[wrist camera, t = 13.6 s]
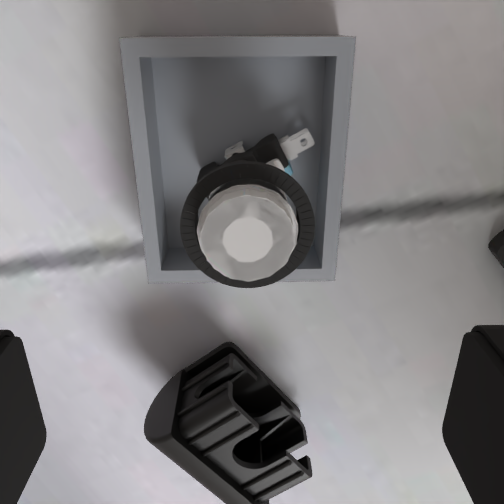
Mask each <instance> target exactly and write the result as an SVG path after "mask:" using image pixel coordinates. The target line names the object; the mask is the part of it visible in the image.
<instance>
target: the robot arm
mask: <svg viewBox="0 0 504 504" xmlns="http://www.w3.org/2000/svg"><path fill="white" fill-rule="evenodd" d="M442 433H443V439H444V442H445V445H446V447H447V449H448V451H449V453H450V455H451V457H452V459H453V461H454V463H455V465H456V467H457V470H458V472H459V474H460V476H461V478H462V480H463V482H464V484H465V486H466V488H467V490H468V492H469V494H470V497H471V499H472V501H473V503H474V504H504V325H477V326H474V328H473V329H472V331H471V332H467V333H466V334H465V335H464V337H463V341H462V345H461V349H460V353H459V358H458V362H457V366H456V370H455V375H454V379H453V383H452V387H451V392H450V396H449V400H448V404H447V409H446V413H445V417H444V421H443V427H442ZM45 442H46V428H45V424H44V420H43V417H42V413H41V409H40V405H39V402H38V398H37V394H36V390H35V387H34V383H33V379H32V376H31V372H30V368H29V364H28V361H27V357H26V353H25V349H24V346H23V342H22V340H21V339H20V337H15V336H14V334H13V333H12V332H11V331H10V330H0V504H17V502H18V500H19V498H20V496H21V494H22V492H23V490H24V488H25V486H26V484H27V481H28V479H29V477H30V475H31V473H32V471H33V469H34V467H35V465H36V463H37V461H38V459H39V457H40V455H41V453H42V451H43V449H44V446H45Z"/></svg>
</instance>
